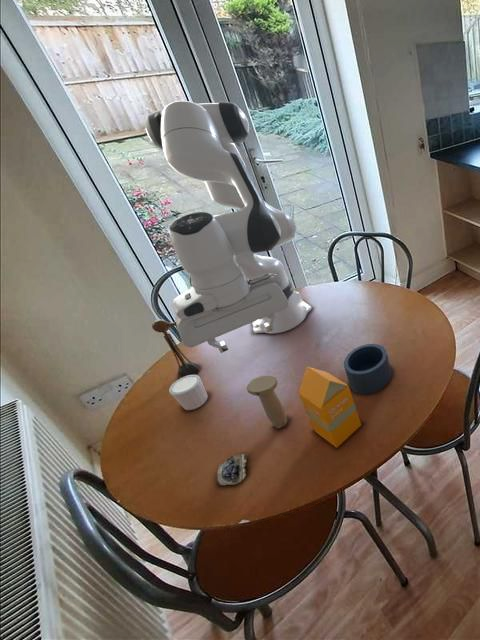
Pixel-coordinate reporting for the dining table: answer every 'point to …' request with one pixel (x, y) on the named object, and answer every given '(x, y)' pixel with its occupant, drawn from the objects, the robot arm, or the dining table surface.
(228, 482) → the mineral rock
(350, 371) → the jar
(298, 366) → the dining table surface
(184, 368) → the wooden tabletop sculpture
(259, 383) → the handle
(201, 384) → the white ribbed cylinder
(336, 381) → the orange juice
